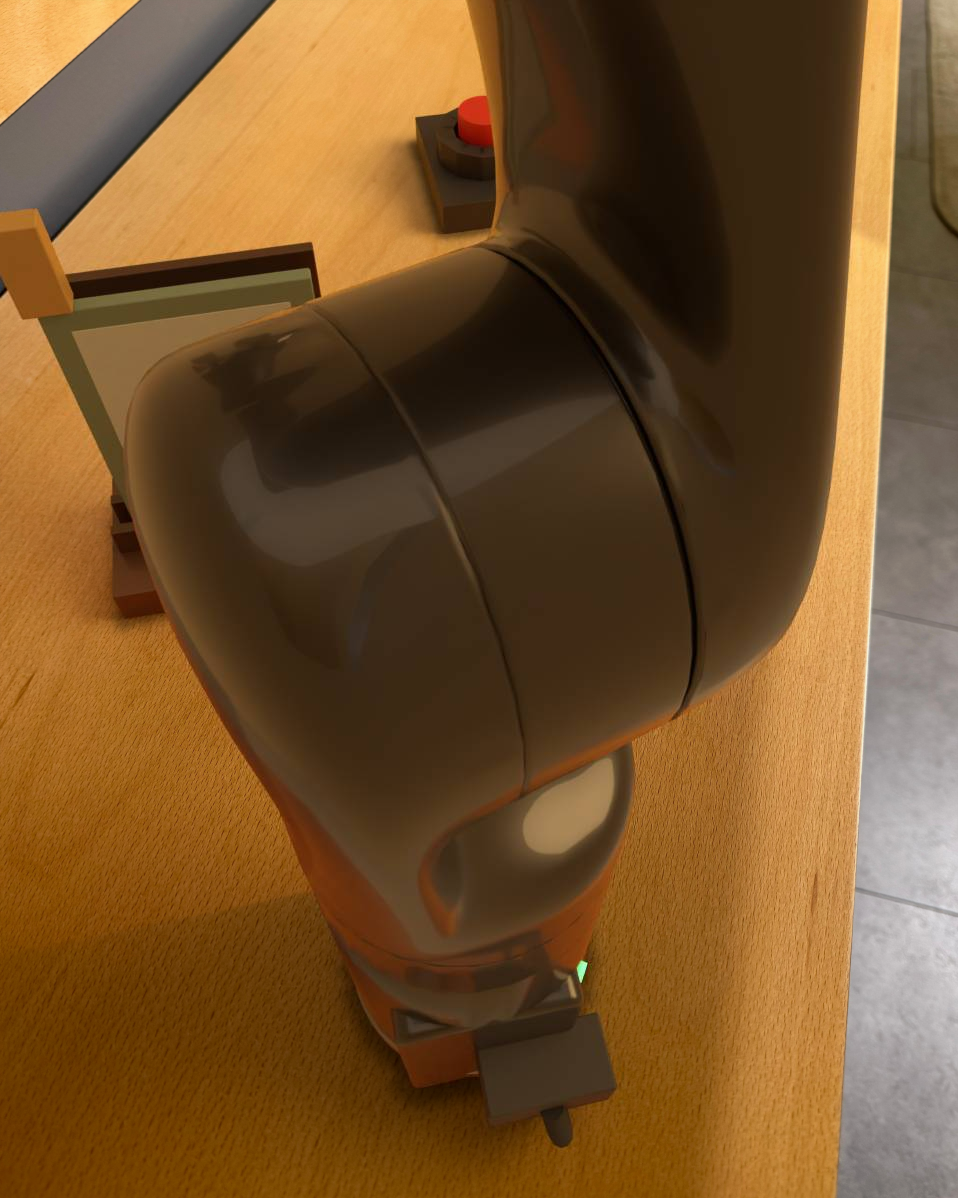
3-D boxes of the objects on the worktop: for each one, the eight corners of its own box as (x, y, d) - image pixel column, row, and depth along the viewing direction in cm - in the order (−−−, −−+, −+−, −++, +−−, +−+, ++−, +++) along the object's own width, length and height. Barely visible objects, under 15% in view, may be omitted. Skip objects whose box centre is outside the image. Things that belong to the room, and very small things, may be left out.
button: (515, 145, 68) (516, 120, 66) (463, 151, 67) (463, 127, 66) (503, 116, 70) (504, 92, 68) (453, 122, 69) (453, 98, 68)
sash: (350, 500, 52) (296, 193, 37) (127, 536, 51) (-21, 233, 36) (347, 483, 53) (293, 174, 38) (127, 518, 51) (-19, 213, 36)
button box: (556, 219, 69) (560, 167, 66) (443, 234, 68) (441, 182, 65) (520, 132, 75) (522, 79, 72) (416, 144, 74) (413, 92, 71)
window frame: (608, 536, 54) (665, 211, 37) (124, 619, 51) (-50, 307, 34) (571, 429, 58) (606, 96, 41) (122, 500, 55) (-33, 172, 39)
